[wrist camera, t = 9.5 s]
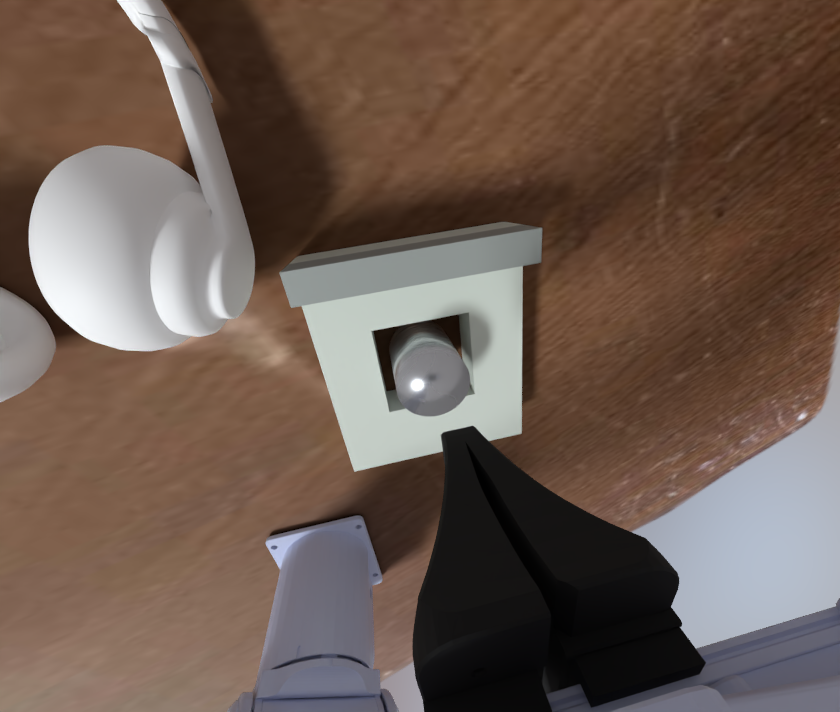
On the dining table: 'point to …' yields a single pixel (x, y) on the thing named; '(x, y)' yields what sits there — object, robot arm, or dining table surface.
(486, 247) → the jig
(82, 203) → the headphones
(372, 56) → the dining table surface
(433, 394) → the peg
